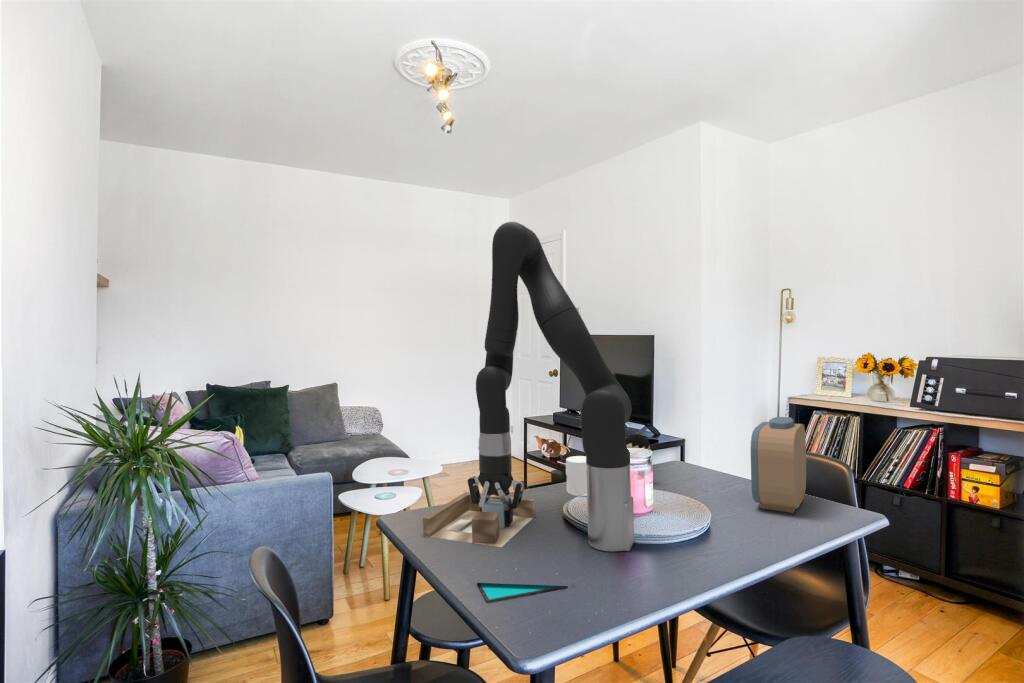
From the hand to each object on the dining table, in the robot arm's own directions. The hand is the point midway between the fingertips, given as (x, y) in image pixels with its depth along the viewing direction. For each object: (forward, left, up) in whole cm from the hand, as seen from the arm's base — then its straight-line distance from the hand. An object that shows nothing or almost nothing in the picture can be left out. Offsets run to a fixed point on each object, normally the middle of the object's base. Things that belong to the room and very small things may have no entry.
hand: (496, 523), depth 123 cm
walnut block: (-2, +9, 0) cm, 9 cm away
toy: (-25, -45, -2) cm, 52 cm away
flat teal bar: (-16, +24, -2) cm, 28 cm away
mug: (-12, -33, -2) cm, 35 cm away
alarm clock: (-62, -39, -2) cm, 73 cm away
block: (0, 0, 0) cm, 0 cm away
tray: (+3, +2, -1) cm, 4 cm away
